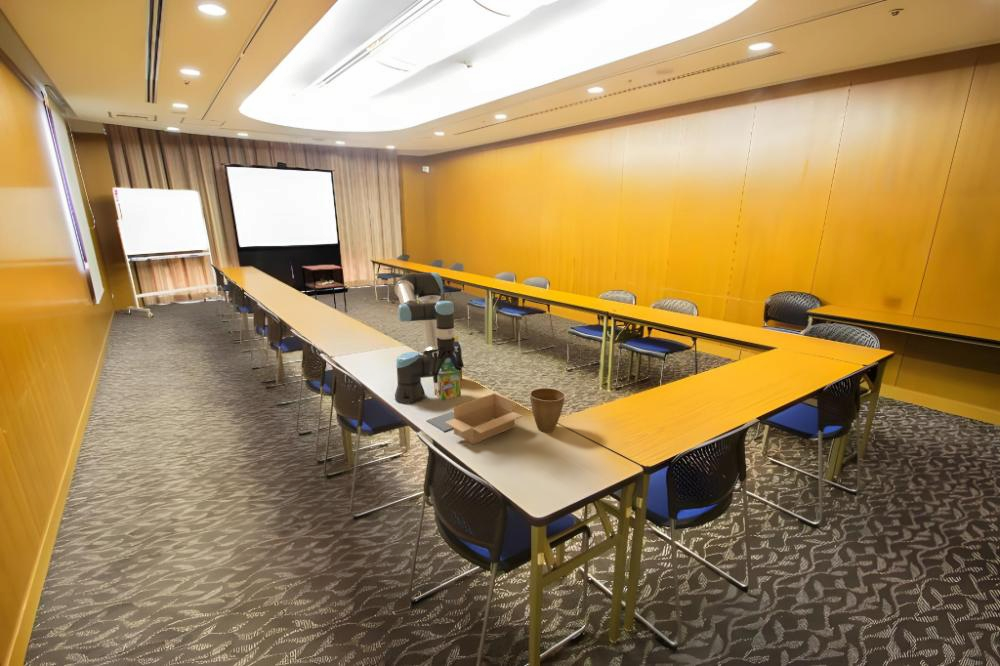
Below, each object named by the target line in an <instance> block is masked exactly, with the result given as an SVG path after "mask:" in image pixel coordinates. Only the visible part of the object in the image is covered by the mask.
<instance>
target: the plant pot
mask: <svg viewBox="0 0 1000 666" xmlns="http://www.w3.org/2000/svg"><path fill="white" fill-rule="evenodd" d="M529 397H530V403H531V405H530V406H531V410H532V415H533V418H534V419H533V420H534V422H535V425H536V427H537V430H538V431H540V432H544V433H551V432H553V431H555V429H556V427H557V424H558V423H559V420H560V417H561V413H562V410H563V407H564V403H565V398H566V394H565V392H563V391H561V390H558V389H555V388H546V387H542V388H536V389H533V390H531V391H530V393H529Z"/></svg>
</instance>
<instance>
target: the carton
mask: <svg viewBox="0 0 1000 666" xmlns="http://www.w3.org/2000/svg"><path fill="white" fill-rule="evenodd" d="M452 407H453V413H454V419H452V420H449V421H446V422H445V423H446V424H448V425H450V426H452V427H453V428H454V429H453V434H455V435H456V436H458V437H460V438H462V439H464V440H465V441H467V442H468V443H471V444H472V445H474V444H477V443H479V442H482V441H484V440H486V439H488V438H491V437H494V436H496V435H499V434H500V433H504V432H505V431H507V430H510V429H512V428H515V420H517V419H520V418H522V417H523V415H522V414H520V413H518V412H516V411H514V400H512V399H510V398H507V397H506V396H505V397H504V396H502V395H500V394H498V393H496V392H494V393H491V394H488V395H485V396H482V397H479V398H476V399H473V400H470V401H467V402H464V403H461V404H459V405H455V406H452Z"/></svg>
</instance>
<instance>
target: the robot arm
mask: <svg viewBox="0 0 1000 666" xmlns="http://www.w3.org/2000/svg"><path fill="white" fill-rule="evenodd" d="M393 291H394V293H395V295H396V296H397V297H398V300H399V305H398V307H397V313H398V319H399V321H400V322H407V323H409V322H421V321H423V331H424V332H423V333H424V341H425V342H424V344H425V348H424V349H423V350H422V354H420V353H419V351H407V352H404V353H402V354H400V355H398V356H397V357H396V365H395V367H396V379H397V386H396V389H395V393H394V400H395V401H396V402H397V403H399V404H415V403H418V402H422V401H423V400H424V399H425V398H426V393H425V389H424V387H423V384H422V378H433V380H432V381H433V384H434V383H435V389H437V390H440V376H439V375H438V373H439V371H440V369H441V366H442V364H443V363H448V362H450V359H451V361H452V363H453V365H454V367H455V368H456V370H457V371H459V372H460V370H461V369H462V370H463V368H464V367H465V365H464V361H463V358H462V357H461V353H460V347H457V346H456V347H454V345H455V307H454V302H453V301H451V300H440V299H441V298H442V297H441V296H442V295H443V294H444V284H443V279H442V277H441V275H440V274H439V273H438V272H430V271H429V272H412V273H411V272H410V273H406V274H404V275H402V276H400V277H399V278H397V280H396V281H395V283H394V286H393ZM417 297H418V300H419V303H418V300H417ZM420 302H421V303H420ZM454 351H455V355H456V358H457V360H456V359H455V356H454V354H453V353H454ZM446 367H448V366H447V365H445V366H444V368H446Z"/></svg>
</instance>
